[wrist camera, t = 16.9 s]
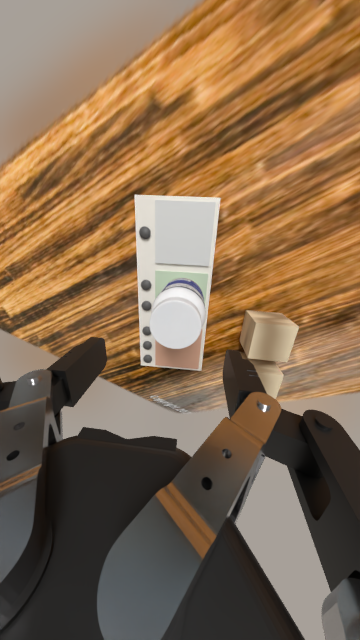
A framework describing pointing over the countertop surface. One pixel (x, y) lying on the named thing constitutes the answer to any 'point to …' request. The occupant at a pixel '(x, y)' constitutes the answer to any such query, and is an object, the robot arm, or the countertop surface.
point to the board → (173, 264)
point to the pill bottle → (178, 314)
